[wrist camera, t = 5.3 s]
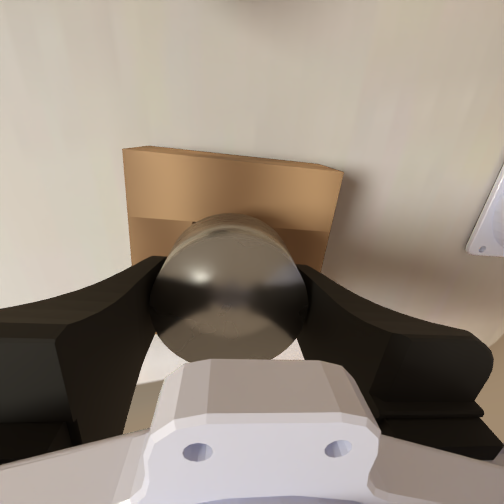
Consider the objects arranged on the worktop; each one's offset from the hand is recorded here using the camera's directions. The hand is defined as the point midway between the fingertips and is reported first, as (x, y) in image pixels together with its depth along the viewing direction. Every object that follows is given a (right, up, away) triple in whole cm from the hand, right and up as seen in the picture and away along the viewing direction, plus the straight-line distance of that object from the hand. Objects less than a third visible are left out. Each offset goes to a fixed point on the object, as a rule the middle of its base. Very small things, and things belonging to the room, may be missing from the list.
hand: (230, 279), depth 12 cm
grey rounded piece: (0, +2, +3) cm, 4 cm away
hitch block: (0, +2, +5) cm, 6 cm away
